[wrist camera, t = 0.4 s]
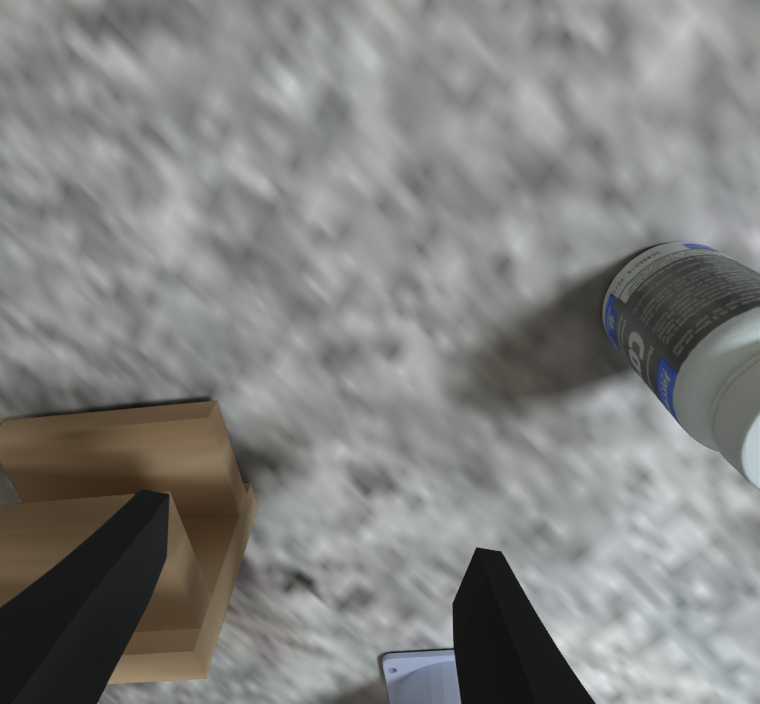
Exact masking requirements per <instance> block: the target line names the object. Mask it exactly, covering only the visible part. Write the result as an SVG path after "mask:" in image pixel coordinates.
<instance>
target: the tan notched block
mask: <svg viewBox="0 0 760 704" xmlns="http://www.w3.org/2000/svg"><path fill="white" fill-rule="evenodd" d="M0 463H1V464H2V466H3V468H4V470H5V471H6V473H7V475H8V477H9V478H10V480H11V482H12V484H13V485H14V487H15V489H16V490H17V492H18V494H19V496H20V497H21V499H22V501H23V503H17V504H4V505H0V607H1V606H3V605H4V604H6V603H7V602H8V601H10V600H11V599H12V598H14V597H15V596H16V595H18V594H19V593H21V592H22V591H23V590H24V589H26V588H27V587H28V586H29V585H31V584H32V583H33V582H35V581H36V580H37V579H38V578H40V577H41V576H42V575H44V574H45V573H46V572H47V571H49V570H50V569H51V568H53V567H54V566H55V565H56V564H58V563H59V562H60V561H61V560H62V559H64V558H65V557H66V556H67V555H68V554H69V553H71V552H72V551H73V550H74V549H75V548H77V547H78V546H79V545H80V544H81V543H82V542H84V541H85V540H86V539H87V538H88V537H89V536H91V535H92V534H93V533H94V532H95V531H96V530H97V529H98V528H100V527H101V526H102V525H103V524H104V523H105V522H106V521H107V520H108V519H110V518H111V517H112V516H113V515H114V514H115V513H116V512H117V511H118V510H119V509H120V508H121V507H122V506H124V505H125V504H126V503H127V502H128V501H129V500H130V499H131V498H132V497H133V496H134V495H135V494H136V493H137V492H139V491H140V490H142V489H144V490H149V491H155V492H161V493H167V494H170V499H169V522H168V545H167V558H166V561H165V563H164V566H163V569H162V571H161V574H160V577H159V579H158V582H157V584H156V587H155V589H154V592H153V594H152V597H151V599H150V602H149V604H148V606H147V608H146V610H145V612H144V614H143V616H142V618H141V619H140V621H139V623H138V625H137V627H136V629H135V631H134V633H133V635H132V637H131V639H130V641H129V643H128V645H127V647H126V649H125V650H124V652H123V654H122V656H121V658H120V660H119V662H118V664H117V666H116V668H115V670H114V672H113V674H112V675H111V677H110V679H109V681H108V683H107V684H118V683H136V682H154V681H172V680H190V679H206V676H207V673H208V670H209V667H210V663H211V660H212V657H213V653H214V650H215V647H216V644H217V640H218V637H219V634H220V630H221V627H222V624H223V621H224V617H225V614H226V611H227V608H228V604H229V601H230V598H231V594H232V591H233V588H234V585H235V581H236V578H237V575H238V571H239V568H240V565H241V562H242V558H243V555H244V552H245V549H246V545H247V542H248V539H249V535H250V532H251V529H252V526H253V522H254V519H255V516H256V512H257V509H258V504H257V501H256V498H255V494H254V491H253V488H252V484H251V482H249V483H243V481H242V478H241V475H240V471H239V468H238V465H237V462H236V459H235V455H234V452H233V449H232V446H231V442H230V439H229V436H228V433H227V430H226V426H225V423H224V420H223V417H222V413H221V410H220V407H219V404H218V401H207V402H197V403H186V404H175V405H164V406H154V407H143V408H132V409H121V410H111V411H100V412H89V413H78V414H68V415H57V416H46V417H35V418H25V419H14V420H6V421H5V422H3V423H2V424H1V425H0Z"/></svg>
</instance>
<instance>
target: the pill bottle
mask: <svg viewBox="0 0 760 704" xmlns="http://www.w3.org/2000/svg"><path fill="white" fill-rule="evenodd" d="M602 318H603V324H604V327H605V330H606V333H607V335H608V337H609V339H610V340H611V342H612V343H613V344H614V346H615V347H616V348H617V349H618V351H619V352H620V353H621V354H622V355H623V357H624V358H625V359H626V360H627V361H628V363H629V364H630V365H631V366H632V368H633V369H634V370H635V371H636V373H637V374H638V375H639V376H640V377H641V378H642V380H643V381H644V382H645V383H646V385H647V386H648V387H649V388H650V389H651V390H652V391H653V393H654V394H655V395H656V396H657V398H658V399H659V400H660V401H661V402H662V404H663V405H664V406H665V408H666V409H667V410H668V411H669V412H670V413H671V415H672V416H673V417H674V418H675V419H676V421H677V422H678V423H679V424H680V426H681V427H682V428H683V429H684V430H685V431H686V432H687V433H688V434H689V435H690V436H691V437H692V438H694V439H695V440H696V441H698V442H699V443H700V444H702V445H704V446H706V447H708V448H710V449H712V450H715V451H718V452H720V453H721V454H722V456H723V457H724V458H725V459H726V460H727V461H728V462H729V463H730V464H731V465H732V466H733V467H734V468H735V469H736V470H737V471H738V472H739V473H740V474H741V475H742V476H743V477H744V478H745V479H746V480H747V481H748V482H749V483H750V484H751V485H753V486H754V487H756V488H757V489H759V490H760V274H759V273H758V272H756V271H754V270H752V269H750V268H748V267H746V266H744V265H742V264H740V263H739V262H738V261H736V260H734V259H732V258H730V257H728V256H726V255H724V254H722V253H720V252H718V251H717V250H714V249H712V248H710V247H707V246H705V245H702V244H697V243H692V242H673V243H667V244H663V245H659V246H656V247H653V248H651V249H649V250H647V251H645V252H643V253H642V254H640V255H639V256H637V257H636V258H634V259H633V260H631V261H630V262H629V263H628V264H627V265H626V266H625V267H624V268H623V269H622V270H621V271H620V272H619V273H618V274H617V275H616V277H615V278H614V280H613V281H612V283H611V285H610V286H609V288H608V290H607V293H606V296H605V299H604V304H603V312H602Z"/></svg>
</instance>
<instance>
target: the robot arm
mask: <svg viewBox="0 0 760 704" xmlns="http://www.w3.org/2000/svg"><path fill="white" fill-rule="evenodd" d="M169 499H170V494H167V493H161V492H155V491H149V490H144V489H142V490H140V491H139V492H137V493H136V494H135V495H134V496H133V497H132V498H131V499H130V500H129V501H128V502H127V503H126V504H125V505H124V506H122V507H121V508H120V509H119V510H118V511H117V512H116V513H115V514H114V515H113V516H112V517H111V518H110V519H108V520H107V521H106V522H105V523H104V524H103V525H102V526H101V527H100V528H98V529H97V530H96V531H95V532H94V533H93V534H92V535H91V536H89V537H88V538H87V539H86V540H85V541H84V542H82V543H81V544H80V545H79V546H78V547H77V548H75V549H74V550H73V551H72V552H71V553H69V554H68V555H67V556H66V557H65V558H64V559H62V560H61V561H60V562H59V563H58V564H56V565H55V566H54V567H53V568H51V569H50V570H49V571H47V572H46V573H45V574H44V575H42V576H41V577H40V578H38V579H37V580H36V581H35V582H33V583H32V584H31V585H29V586H28V587H27V588H26V589H24V590H23V591H22V592H21V593H19V594H18V595H16V596H15V597H14V598H12V599H11V600H10V601H8V602H7V603H6V604H4V605H3V606H1V607H0V704H97V702H98V700H99V699H100V697H101V695H102V693H103V691H104V689H105V687H106V685H107V683H108V681H109V679H110V677H111V675H112V674H113V672H114V670H115V668H116V666H117V664H118V662H119V660H120V658H121V656H122V654H123V652H124V650H125V649H126V647H127V645H128V643H129V641H130V639H131V637H132V635H133V633H134V631H135V629H136V627H137V625H138V623H139V621H140V619H141V618H142V616H143V614H144V612H145V610H146V608H147V606H148V604H149V602H150V599H151V597H152V594H153V592H154V589H155V587H156V584H157V582H158V579H159V577H160V574H161V571H162V569H163V566H164V563H165V561H166V558H167V545H168V522H169ZM453 641H454V650H440V651H423V652H405V653H389V654H386V655H384V657H383V660H382V665H383V670H384V676H385V681H386V686H387V691H388V697H389V702H390V704H595V702H594V701H593V699H592V698H591V697H590V695H589V694H588V692H587V691H586V690H585V688H584V687H583V685H582V684H581V682H580V681H579V679H578V678H577V676H576V675H575V673H574V672H573V671H572V669H571V668H570V666H569V665H568V663H567V662H566V660H565V658H564V657H563V655H562V654H561V652H560V651H559V649H558V648H557V646H556V644H555V643H554V641H553V640H552V638H551V636H550V635H549V633H548V631H547V630H546V628H545V627H544V625H543V623H542V622H541V620H540V618H539V617H538V615H537V613H536V612H535V610H534V608H533V606H532V605H531V603H530V601H529V600H528V598H527V596H526V594H525V593H524V591H523V589H522V587H521V586H520V584H519V582H518V580H517V578H516V577H515V575H514V573H513V571H512V569H511V568H510V566H509V564H508V562H507V561H506V559H505V557H504V555H503V554H502V552H500V551H495V550H489V549H483V548H477V547H476V550H475V552H474V554H473V557H472V559H471V561H470V564H469V566H468V568H467V571H466V573H465V576H464V578H463V580H462V583H461V585H460V587H459V590H458V592H457V594H456V597H455V599H454V602H453Z"/></svg>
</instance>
